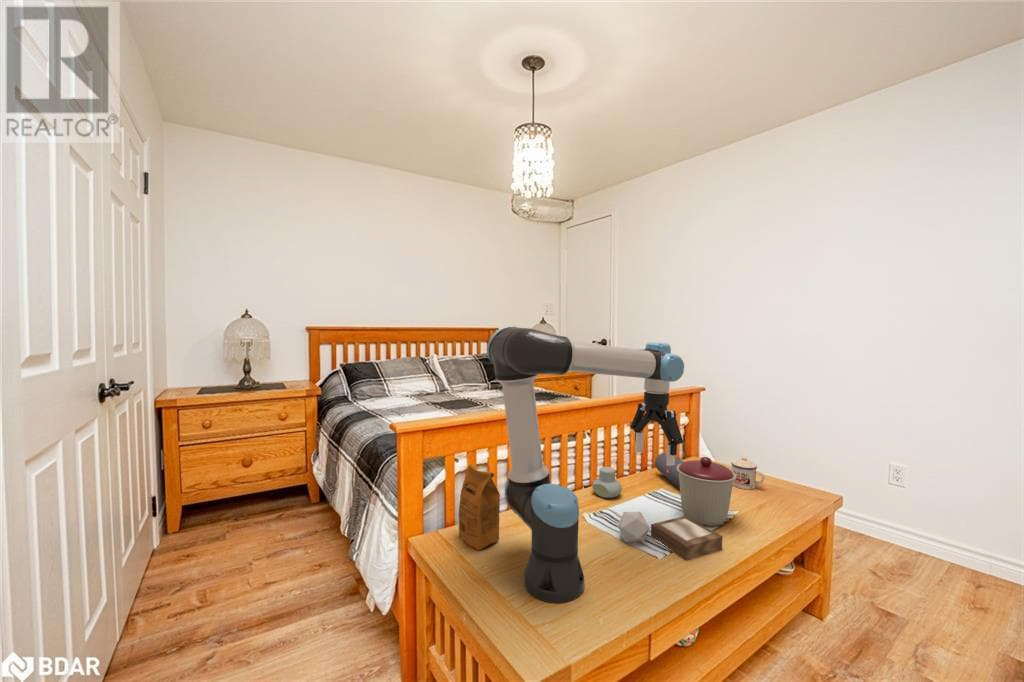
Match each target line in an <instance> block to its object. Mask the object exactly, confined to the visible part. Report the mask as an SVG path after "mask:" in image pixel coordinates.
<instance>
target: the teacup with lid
mask: <svg viewBox="0 0 1024 682" xmlns="http://www.w3.org/2000/svg"><path fill="white" fill-rule="evenodd" d="M730 464H731V471H733V472H734V473H735V474H736V478H735V480H733V486H732V487H735V488H738V489H740V490H741V489H742V490H747V491H748V490H750V491H751V490H755V488H756V484H757V485H759V484H762V483H764V481H765V474H764V473H763V472H761V471H758V470H757V468H758V466H757V464H756V463H754V462H752V461H750V460H749V459H748V458H747V456H742V457H741V458H739V459H734V460H732V461H731V463H730ZM757 474H758V475H760V476H761V480H760V481H756V480H757Z"/></svg>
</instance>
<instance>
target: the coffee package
mask: <svg viewBox="0 0 1024 682" xmlns="http://www.w3.org/2000/svg"><path fill="white" fill-rule="evenodd" d="M494 477H495V474H494V472H489V471H483V470H482V471H481V470H477V468H476V466H475V465H474V464H473V463H469V464H468V468H467V470H466V473H465V476H464V480H463V482H462V486H461V489H460V497H459V507H458V513H457V515H458V538H459V539H461V540H463V541H464V542H465V544H466V545H467V546H468V547H471V548H474V549H475V550H479V551H480V550H483V549H484V548H487V546H490V545H491V544H494V543H496V542H497V541H499V539H500V513H501V511H500V509H501V507H500V506H501V505H500V501H501V499H500V497H501V494H500V491H499V490H498V488H497V486H496V484H495V482H494V480H493V478H494Z"/></svg>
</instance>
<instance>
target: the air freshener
mask: <svg viewBox="0 0 1024 682" xmlns="http://www.w3.org/2000/svg"><path fill="white" fill-rule="evenodd" d="M598 472H599V475H598V478H597V479H595V480H594V481H593V483H592V484H591V485H592V487H591V488H592V490H593V492H594V493H595V494H597V495H598V496H599V497H601V498H603V499H604V498H605V499H612V498H616V497H618V496H619V495H621V493H622V491H623V487H622V484H621V482H619V481H618V480H617V479H616V469H615V468H613V467H610V466H601V467H600V468H599V471H598Z"/></svg>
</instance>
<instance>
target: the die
mask: <svg viewBox="0 0 1024 682" xmlns="http://www.w3.org/2000/svg"><path fill="white" fill-rule="evenodd" d="M617 528H618V530H619V532H620V534H621V536H622V538H623V539H624V541H625V543H644V542H645V539H646V537H647V535H648V534H649V531H650V530H651V526H650V525H649V523H648V522H647V519H646V517H645V516H644V515H643V513H642V512H641V511H623V513H622V515H621V517H620V519H619V521H618V522H617ZM643 541H644V542H643Z"/></svg>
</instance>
